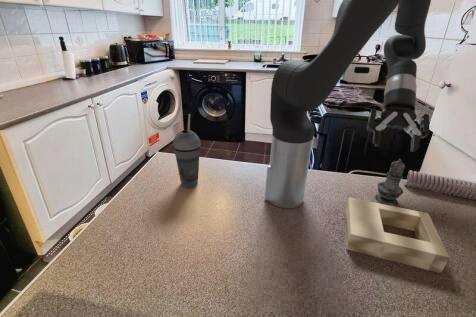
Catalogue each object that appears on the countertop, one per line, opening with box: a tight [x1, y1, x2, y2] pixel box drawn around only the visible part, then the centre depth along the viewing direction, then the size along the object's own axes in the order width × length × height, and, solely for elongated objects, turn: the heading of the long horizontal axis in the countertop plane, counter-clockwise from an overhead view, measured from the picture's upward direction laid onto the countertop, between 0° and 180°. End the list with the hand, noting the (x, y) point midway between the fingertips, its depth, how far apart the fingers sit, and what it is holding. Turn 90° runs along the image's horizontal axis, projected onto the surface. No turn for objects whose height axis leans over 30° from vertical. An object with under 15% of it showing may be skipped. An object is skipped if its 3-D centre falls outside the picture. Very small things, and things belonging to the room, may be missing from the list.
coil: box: [402, 170, 476, 201], centre depth 71 cm, size 5×5×18 cm
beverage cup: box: [172, 113, 202, 189], centre depth 68 cm, size 7×7×20 cm
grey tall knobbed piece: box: [374, 158, 406, 207], centre depth 65 cm, size 6×6×12 cm
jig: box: [344, 197, 450, 274], centre depth 54 cm, size 16×13×4 cm
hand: (395, 148), depth 68 cm, fingers open, 8 cm apart
